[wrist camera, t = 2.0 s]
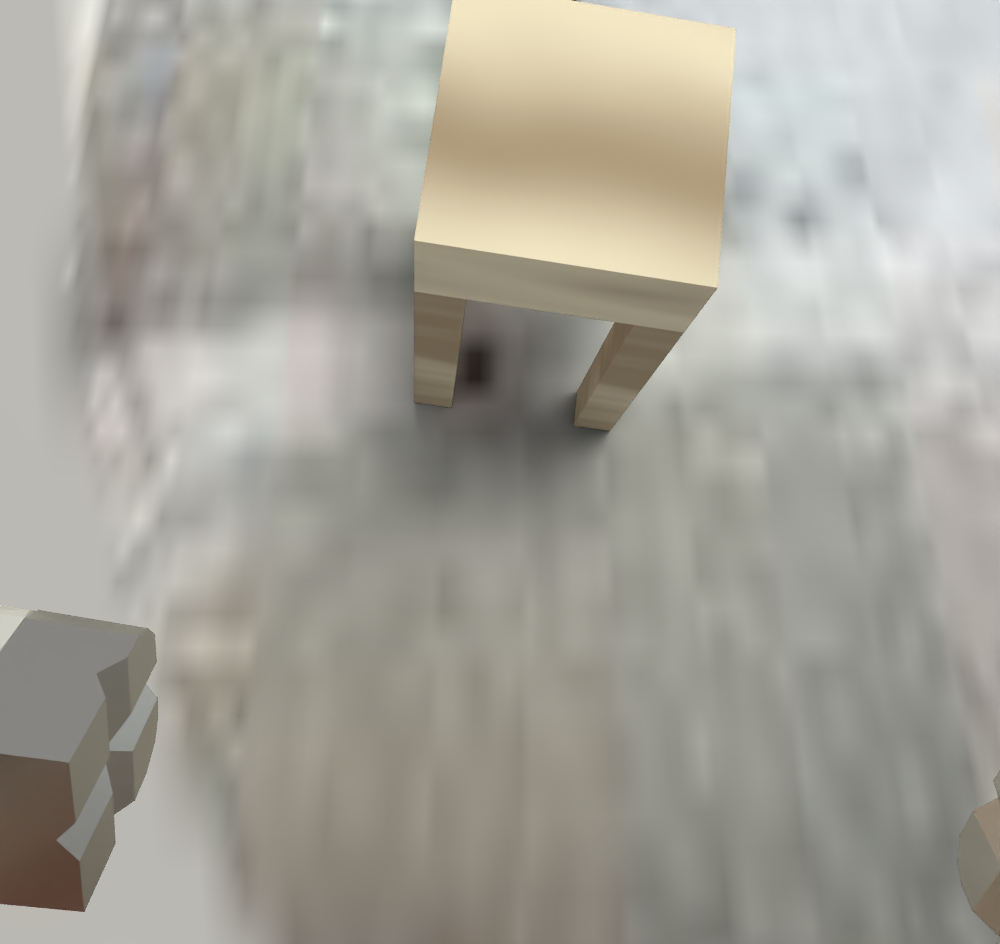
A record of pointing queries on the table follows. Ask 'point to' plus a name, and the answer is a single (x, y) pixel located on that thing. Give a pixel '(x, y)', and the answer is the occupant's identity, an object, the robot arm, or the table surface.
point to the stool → (573, 184)
